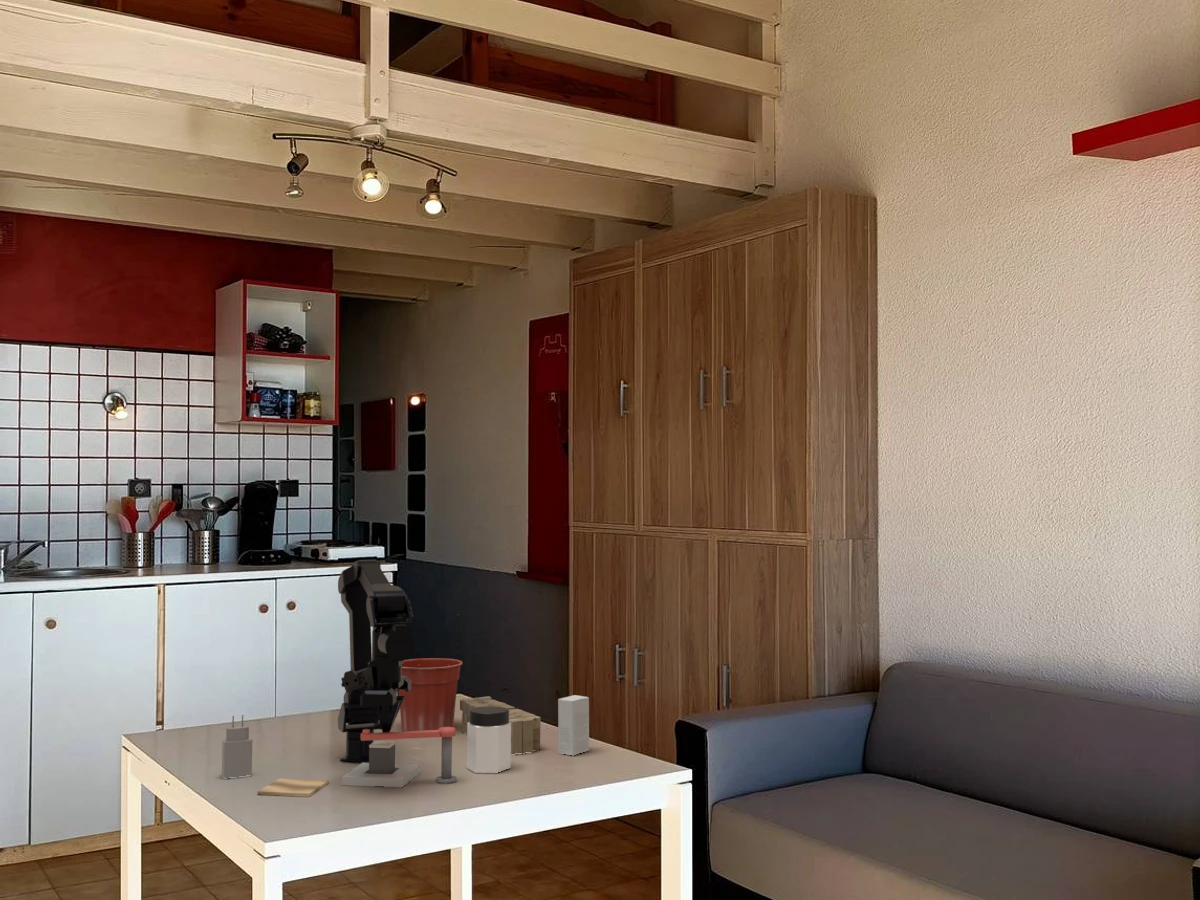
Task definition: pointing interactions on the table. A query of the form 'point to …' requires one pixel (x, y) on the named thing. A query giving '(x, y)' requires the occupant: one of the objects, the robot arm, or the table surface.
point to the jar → (488, 740)
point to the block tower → (522, 722)
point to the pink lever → (408, 734)
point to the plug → (382, 757)
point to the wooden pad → (293, 787)
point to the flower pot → (429, 693)
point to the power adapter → (237, 752)
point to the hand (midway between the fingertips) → (386, 735)
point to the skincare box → (573, 725)
